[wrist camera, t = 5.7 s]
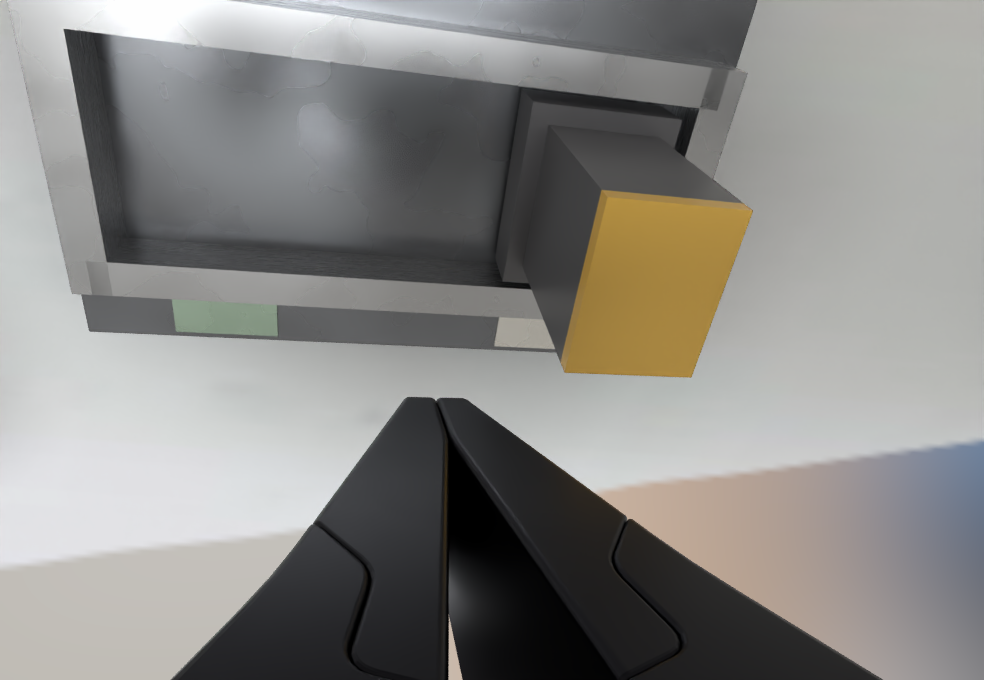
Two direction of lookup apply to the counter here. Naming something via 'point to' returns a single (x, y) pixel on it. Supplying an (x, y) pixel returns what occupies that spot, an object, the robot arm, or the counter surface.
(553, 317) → the breaker handle
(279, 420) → the counter surface
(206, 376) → the counter surface
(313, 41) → the grey shallow rectangular piece
